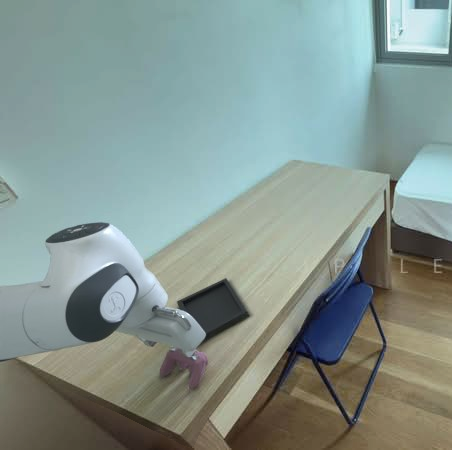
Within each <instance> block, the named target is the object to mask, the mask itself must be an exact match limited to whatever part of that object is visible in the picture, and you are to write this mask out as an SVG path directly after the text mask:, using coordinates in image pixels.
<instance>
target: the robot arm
mask: <svg viewBox="0 0 452 450" xmlns="http://www.w3.org/2000/svg"><path fill="white" fill-rule="evenodd" d="M44 245H45V248H46V250H47V252H48V254H49V256H50V257H49V266H48V269H47V272H46V275H45V276H44V279H43V280H40V281H34V282H27V283H20V284H13V285H11V284H10V285H9V284H8V285H0V363H3V362H7V361H11V360H15V359H18V358H21V357H26V356H32V355H33V356H34V355H38V354H43V353H49V352H55V351H59V350H64V349H69V348H75V347H79V346H85V345H89V344H93V343H98V342H101V341H103V340H105V339H108V338H109V337H110V336H111V335H112V334H113V333H115V332H116V333H121V334H125V335H128V336H133V337H134V338H136V339H138V340H140V341H141V342H142V343H143V344H144V346H147V347H151V348H152V347H155V345H156V344H160V345H164V346H168V347H170V348H172V347H175V348H179V349H181V350H180V351H179V352H180V353H181V354H182V355H183V356H186V357H191V356H192V355H193V353H194V352H195V350H197V348H198V347H199V346H200V345H201V344H202V343H201V342H202V341H203V340H204V338H205V336H206V334H205V332H204V330H203V329H202V328H201V326H200V325H199V324H198V323H197V322H196V320H195V319H194V318H193V317H192V316H191V315H190V314H188V313H187V312H185V311H182V310H180V309H178V308H175V307H174V308H173V307H171V306H166V304H167V302H168V300H169V296H168V293H167V292H166V290H165V288H164V287H163V286H162V284H161V283H160V282H159V279H157V277H156V275H155V274H154V273H153V272H151V271H150V270H148V269H147V268H146V265H145V262H144V258H143V257H142V255H141V254H140V252H139V251H138V250H137V248H136V247H135V246H134V244H133V243H132V242H131V240H130V239H129V238H128V237H127V235H125V234H124V232H122V231H121V230H120V228H118V227H116V226H115V225H113V224H111V223H109V222H103V221H102V222H101V221H99V222H90V223H88V222H87V223H82V224H77V225H74V226H70V227H67V228H63V229H61V230H59V231H56V232H54V233H53V234H51V235H50V236H49V237H48V238H46V239H45V241H44ZM200 343H201V344H200Z"/></svg>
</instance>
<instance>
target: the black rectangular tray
mask: <svg viewBox="0 0 452 450" xmlns="http://www.w3.org/2000/svg"><path fill="white" fill-rule="evenodd" d="M176 304H177V306H178V308H179V309H178V310H182V311H185V312H187V313H188V314H190V315H191V316H192V317H193V318H194V319H195V320H196V322H197V323H198V324H199V325H200V326H201V328H202V329H203V330H204V332H205V334H206V336H205V338H204V340H203V341H202V342H201V343H200V344H199V345H201V344H203V343H205V342H207V341H208V340H210V339H211V338H214V337H215V336H217V335H219V334H220V333H223V332H224V331H227V330H228V329H229V328H231V327H233V326H234V325H236V324H239V323H240V322H242V321H244V320H245V319H247V318H249V317H250V314H249V312H248V310H247V309H246V307H245V305H244V304H243V302H242V301H241V299H240V297H239V296H238V294H237V293H236V291H235V290H234V288H233V286H232V284H231V283H230V282H229V280H228V278H227V277H225V278H223V279H220V280H218V281H216V282H214V283H212V284H210V285H208V286H206V287H204V288H202V289H200V290H198V291H196V292H193V293H191V294H189V295H187V296H185V297H183V298H181V299H179V300H177V301H176Z"/></svg>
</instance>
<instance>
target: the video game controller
mask: <svg viewBox="0 0 452 450" xmlns="http://www.w3.org/2000/svg"><path fill="white" fill-rule="evenodd" d="M180 350H181V349H179V348H175V347H170V349H169V350H168V351H167V352H166V354H165V357H164V359H163V362H162V364H161V366H160V368H159V375H160V377H166V376H167V375H169V374H170V373H171V372H172V370H173V369H174V367H175V365H176V364H177V367H178V368H179V369H180V370H185V369H187V368H188V371H189V373H191V374H190V377H189V380H188V388H189V389H191V390H192V389H195V388H196V387H198V385H199V384H200V382H201V381H202V379H203V377H204V374H205V371H206V367H207V365H208V363H209V359H208V356H207V354H205V353H204V352H203V351H199V350H198V349H196V350H195V352H194V353H193V355H192V356H191V357H186V356H183V355H182V354H181V353H180V352H179V351H180Z"/></svg>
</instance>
